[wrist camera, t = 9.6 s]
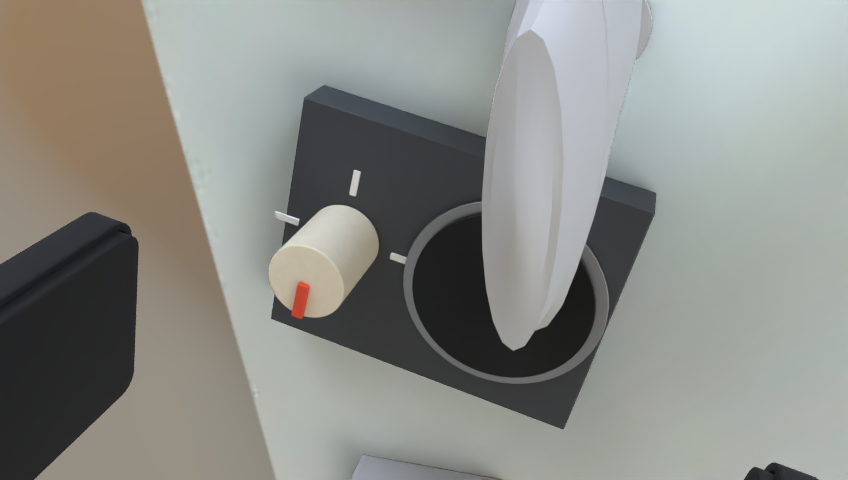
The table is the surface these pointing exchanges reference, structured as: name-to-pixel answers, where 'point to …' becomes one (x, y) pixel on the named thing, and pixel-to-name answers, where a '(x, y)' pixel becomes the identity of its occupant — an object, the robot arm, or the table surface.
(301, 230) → the knob
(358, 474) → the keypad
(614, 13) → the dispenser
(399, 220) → the hob
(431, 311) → the burner
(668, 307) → the table surface
